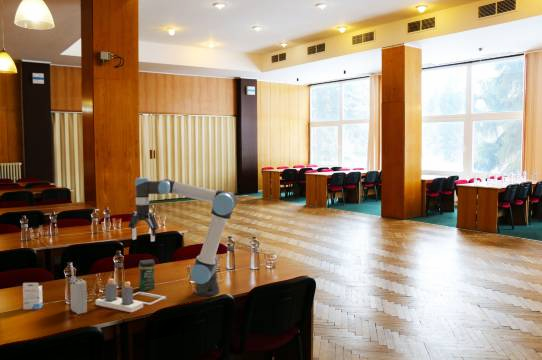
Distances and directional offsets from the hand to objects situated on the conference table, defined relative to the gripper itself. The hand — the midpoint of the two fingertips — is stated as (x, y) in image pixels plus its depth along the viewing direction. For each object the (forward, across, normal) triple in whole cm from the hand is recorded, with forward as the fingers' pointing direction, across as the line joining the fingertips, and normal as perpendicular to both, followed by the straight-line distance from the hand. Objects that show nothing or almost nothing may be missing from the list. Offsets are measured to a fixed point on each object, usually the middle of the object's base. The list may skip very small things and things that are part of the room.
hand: (143, 240), depth 271 cm
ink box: (+33, +42, +41) cm, 68 cm away
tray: (+34, -3, +4) cm, 34 cm away
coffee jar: (+34, +8, -12) cm, 37 cm away
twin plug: (+33, -5, +20) cm, 39 cm away
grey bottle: (+33, +7, +20) cm, 39 cm away
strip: (+34, +1, +20) cm, 39 cm away
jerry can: (+34, +17, +34) cm, 51 cm away
